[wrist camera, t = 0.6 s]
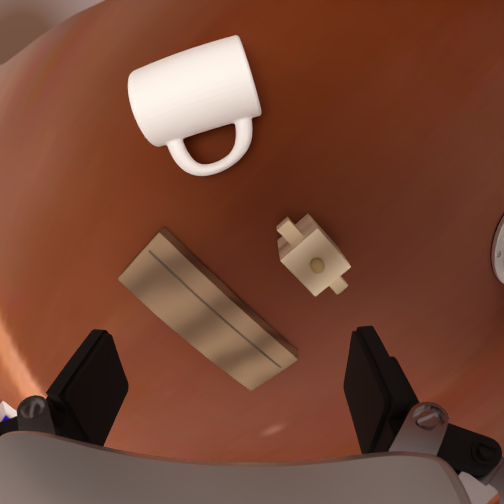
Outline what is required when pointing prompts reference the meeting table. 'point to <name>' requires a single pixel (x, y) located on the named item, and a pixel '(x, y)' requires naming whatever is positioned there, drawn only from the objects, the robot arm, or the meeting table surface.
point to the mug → (196, 100)
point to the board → (206, 312)
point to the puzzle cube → (6, 412)
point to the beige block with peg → (311, 255)
